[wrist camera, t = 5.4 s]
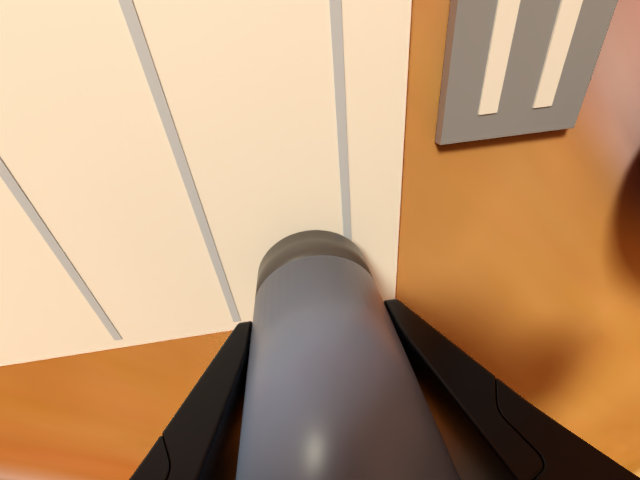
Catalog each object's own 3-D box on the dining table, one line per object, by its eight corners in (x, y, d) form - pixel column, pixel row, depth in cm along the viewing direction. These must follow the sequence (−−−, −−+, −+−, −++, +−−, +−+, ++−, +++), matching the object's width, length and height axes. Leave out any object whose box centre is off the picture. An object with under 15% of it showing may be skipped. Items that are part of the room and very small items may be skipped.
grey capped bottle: (369, 310, 12) (488, 638, 5) (266, 326, 12) (248, 691, 5) (369, 219, 10) (577, 583, 3) (242, 236, 9) (147, 675, 3)
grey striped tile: (564, 125, 10) (575, 128, 10) (434, 141, 10) (441, 145, 9) (651, -141, 7) (672, -152, 7) (464, -125, 7) (475, -138, 6)
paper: (392, 300, 13) (394, 305, 13) (-40, 367, 13) (-47, 374, 12) (413, -121, 7) (419, -130, 6) (-532, -44, 6) (-575, -49, 5)
